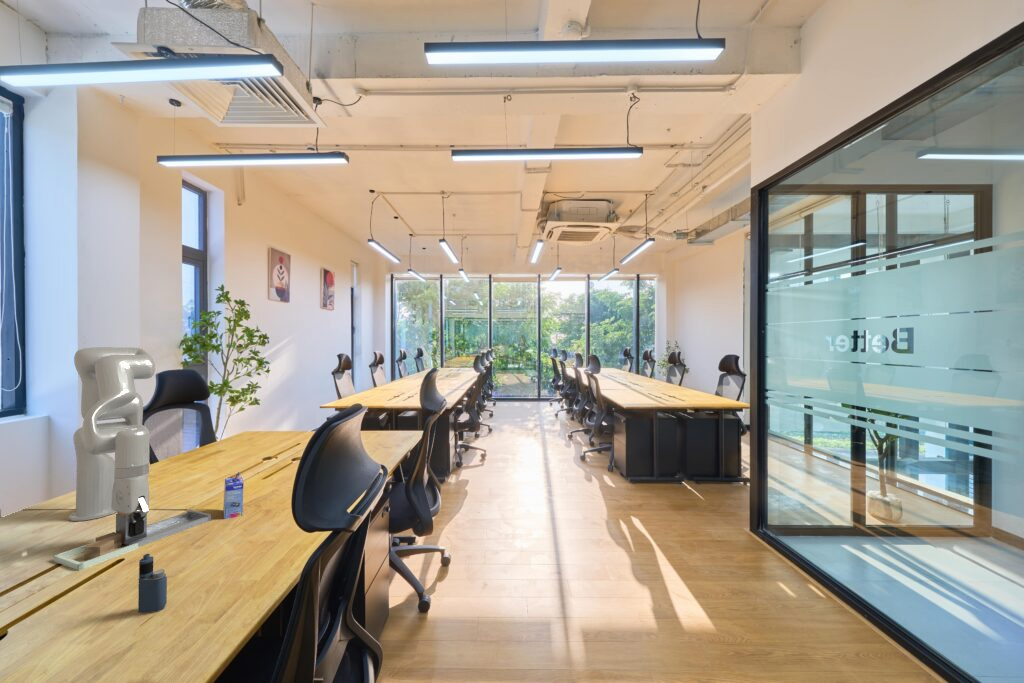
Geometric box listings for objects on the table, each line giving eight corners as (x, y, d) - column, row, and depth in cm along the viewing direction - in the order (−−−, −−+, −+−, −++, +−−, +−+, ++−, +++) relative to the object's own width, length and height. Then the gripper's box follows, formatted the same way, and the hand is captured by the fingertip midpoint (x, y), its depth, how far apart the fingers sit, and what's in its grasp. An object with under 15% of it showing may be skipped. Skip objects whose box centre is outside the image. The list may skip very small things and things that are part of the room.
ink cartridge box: (243, 518, 139) (244, 475, 140) (223, 522, 136) (224, 479, 136) (241, 509, 147) (242, 469, 147) (223, 513, 144) (223, 472, 144)
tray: (53, 564, 109) (53, 555, 109) (112, 544, 121) (112, 535, 121) (78, 574, 104) (78, 564, 105) (137, 552, 116) (137, 543, 116)
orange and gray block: (115, 541, 119) (116, 512, 119) (136, 534, 123) (137, 505, 123) (125, 544, 117) (125, 514, 117) (146, 536, 121) (146, 508, 121)
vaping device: (144, 606, 91) (145, 552, 92) (169, 604, 92) (170, 551, 92) (134, 613, 89) (135, 558, 89) (160, 612, 89) (161, 556, 89)
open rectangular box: (115, 544, 121) (115, 534, 121) (190, 518, 139) (190, 509, 139) (137, 550, 117) (137, 540, 117) (210, 523, 135) (211, 514, 135)
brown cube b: (84, 562, 110) (84, 547, 110) (98, 554, 114) (99, 540, 114) (99, 561, 110) (100, 546, 110) (113, 554, 114) (114, 540, 114)
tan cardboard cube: (95, 552, 115) (95, 537, 115) (113, 545, 119) (113, 532, 119) (103, 554, 114) (103, 540, 114) (121, 548, 117) (121, 534, 118)
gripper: (99, 471, 120) (98, 533, 120) (133, 478, 114) (132, 544, 113) (131, 465, 127) (130, 523, 127) (164, 471, 121) (163, 532, 120)
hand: (131, 532), depth 120 cm, fingers closed on orange and gray block, 5 cm apart
